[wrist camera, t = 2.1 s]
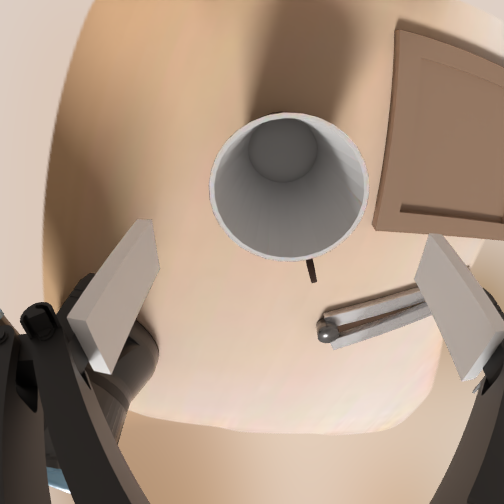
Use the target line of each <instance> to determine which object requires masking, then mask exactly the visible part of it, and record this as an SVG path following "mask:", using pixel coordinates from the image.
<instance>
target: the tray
mask: <svg viewBox="0 0 504 504" xmlns="http://www.w3.org/2000/svg"><path fill="white" fill-rule="evenodd" d="M372 226H373V227H374V229H375V231H388V232H404V233H418V234H429V233H434V234H442V235H445V236H457V237H469V238H481V239H492V240H503V241H504V67H502V66H500V65H498V64H495V63H493V62H491V61H489V60H487V59H484V58H482V57H480V56H477V55H475V54H473V53H470V52H468V51H465V50H463V49H460V48H457V47H455V46H452V45H449V44H446V43H444V42H441V41H438V40H435V39H432V38H428V37H425V36H422V35H419V34H415V33H412V32H408V31H404V30H401V29H400V30H396V31H395V37H394V62H393V78H392V91H391V103H390V113H389V122H388V130H387V138H386V146H385V153H384V160H383V166H382V173H381V179H380V185H379V190H378V196H377V201H376V207H375V212H374V217H373V222H372Z"/></svg>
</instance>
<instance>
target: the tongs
mask: <svg viewBox="0 0 504 504" xmlns="http://www.w3.org/2000/svg"><path fill="white" fill-rule="evenodd" d="M424 301H425V299H424V297H423V295H422V293H421V291H420V289H419V287H416V288H412V289H409V290H406V291H402V292H399V293H396V294H392V295H389V296H385V297H382V298H378V299H375V300H371V301H367V302H364V303H360V304H356V305H353V306H349V307H345V308H341V309H337V310H333V311H329V312H325V313H323V314H324V318H322V319H321V320H319V321H318V322H317V324H316V327H317V335H318V339H319V341H321V342H323V343H331V346H332V348H333V350H335V349H338V348H342V347H345V346H348V345H351V344H354V343H357V342H360V341H363V340H366V339H369V338H372V337H375V336H378V335H381V334H383V333H386V332H389V331H392V330H394V329H397V328H400V327H402V326H405V325H408V324H410V323H413V322H415V321H418V320H421V319H423V318H425V317H428V316H430V315H432V313H431V311H430V309H429V307H428V305H427V303H426V301H425V302H424ZM421 302H423V303H421ZM418 303H420V304H418ZM414 304H418V305H415V306H413V307H410V308H408V309H405V310H403V311H400V312H397V313H395V314H392V315H389V316H387V317H384V318H381V319H378V320H375V321H373V322H370V323H367V324H364V325H361V326H358V327H355V328H352V329H349V330H346V331H343V332H340V333H339V332H338V327H337V326H339V325H343V324H347V323H351V322H355V321H359V320H363V319H366V318H370V317H374V316H377V315H381V314H384V313H388V312H391V311H395V310H398V309H401V308H405V307H408V306H411V305H414Z"/></svg>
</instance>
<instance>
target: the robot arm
mask: <svg viewBox="0 0 504 504" xmlns="http://www.w3.org/2000/svg"><path fill="white" fill-rule="evenodd" d="M159 270H160V265H159V260H158V254H157V248H156V242H155V236H154V230H153V223H152V219H137V220H136V221H135V223H134V224H133V225H132V226H131V228H130V229H129V230H128V231H127V233H126V234H125V235H124V237H123V238H122V239H121V240H120V242H119V243H118V244H117V246H116V247H115V248H114V250H113V251H112V252H111V254H110V255H109V256H108V258H107V259H106V261H105V262H104V263H103V265H102V266H101V267H100V269H99V270H98V272H97V273H96V274H93V273H89V274H88V275H87V276H85V277H84V278H83V279H81V280H80V281H79V283H78V284H77V285H76V287H75V288H74V291H72V292H71V294H70V295H69V297H68V298H67V300H66V301H65V302H64V304H63V305H62V307H61V308H60V310H59V311H58V313H57V314H55V312H54V310H53V308H52V306H51V305H50V304H49V303H47V302H40V303H35V304H33V305H31V306H30V307H28V308H27V309H26V310H25V311H24V312H23V314H22V315H21V318H20V323H21V325H22V326H23V328H24V330H25V332H26V333H27V334H21V335H20V334H19V333H18V332H17V330H16V329H15V328H14V327H13V326H12V325H11V323H10V322H9V321H8V320H7V319H6V317H5V316H4V313H3V312H2V310H1V309H0V504H51V500H50V493H49V486H51V487H54V488H56V489H59V490H61V491H64V492H67V493H70V494H71V495H72V498H73V500H74V502H75V504H150V503H149V501H148V499H147V498H146V496H145V494H144V493H143V491H142V490H141V488H140V486H139V484H138V483H137V481H136V479H135V477H134V476H133V474H132V472H131V470H130V468H129V467H128V465H127V463H126V461H125V459H124V457H123V455H122V453H121V451H120V449H119V447H118V442H119V439H120V435H121V431H122V428H123V425H124V421H125V418H126V414H127V411H128V408H129V405H130V403H131V401H132V400H133V399H134V398H135V396H136V395H137V394H138V393H139V392H140V390H141V389H142V388H143V387H144V385H145V384H146V383H147V382H148V380H149V379H150V378H151V377H152V375H153V373H154V371H155V368H156V365H157V362H158V357H159V354H158V349H157V346H156V343H155V342H154V340H153V338H152V337H151V335H150V334H149V333H148V332H147V330H146V329H145V328H144V327H143V326H142V325H141V324H139V323H138V322H137V321H136V317H137V315H138V313H139V311H140V309H141V307H142V305H143V302H144V300H145V298H146V296H147V294H148V292H149V290H150V288H151V286H152V284H153V282H154V280H155V278H156V276H157V274H158V272H159ZM414 280H415V282H416V283H417V285H418V287H419V289H420V291H421V293H422V295H423V297H424V299H425V301H426V303H427V305H428V307H429V309H430V311H431V313H432V315H433V317H434V319H435V321H436V323H437V326H438V328H439V330H440V332H441V334H442V336H443V339H444V341H445V343H446V345H447V348H448V350H449V352H450V355H451V357H452V359H453V362H454V364H455V366H456V369H457V371H458V374H459V376H460V379H461V381H466V380H472V379H475V378H476V377H477V376H478V374H479V373H480V372H481V370H482V369H483V371H484V373H485V376H484V378H483V379H482V380H481V381H480V383H479V384H478V385H477V386H476V388H475V389H474V390H473V392H472V393H475V392H476V391H477V390H478V389H479V390H478V394H477V397H476V400H475V403H474V406H473V409H472V412H471V415H470V418H469V420H468V423H467V425H466V428H465V431H464V433H463V436H462V438H461V441H460V443H459V445H458V448H457V450H456V452H455V455H454V457H453V459H452V461H451V463H450V465H449V468H448V470H447V472H446V474H445V476H444V478H443V480H442V482H441V484H440V486H439V487H438V489H437V491H436V493H435V495H434V497H433V498H432V500H431V502H430V504H504V313H503V312H502V311H501V309H500V307H499V305H497V302H496V301H495V300H494V298H493V296H492V295H491V294H489V292H487V291H486V290H485V289H484V288H482V287H481V286H480V284H479V283H478V282H477V280H476V279H475V277H474V276H473V274H472V273H471V271H470V270H469V269H468V267H467V266H466V265H465V263H464V262H463V261H462V259H461V258H460V257H459V255H458V254H457V253H456V252H455V250H454V249H453V248H452V246H451V245H450V244H449V243H448V241H447V240H446V239H445V238H444V236H443V235H442V234H434V233H429V235H428V239H427V242H426V245H425V248H424V252H423V255H422V258H421V261H420V264H419V267H418V270H417V272H416V275H415V278H414Z"/></svg>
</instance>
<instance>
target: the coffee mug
mask: <svg viewBox="0 0 504 504" xmlns="http://www.w3.org/2000/svg"><path fill="white" fill-rule="evenodd" d="M209 195H210V202H211V206H212V209H213V213H214V215H215V217H216V219H217V221H218V223H219V225H220V227H221V228H222V229H223V230H224V232H225V233H226V234H227V235H228V237H229V238H230V239H232V240H233V241H234V242H235V243H236V244H237V245H239V246H240V247H241V248H243V249H245V250H247V251H248V252H250V253H252V254H254V255H257V256H260V257H262V258H265V259H270V260H275V261H285V262H295V261H302V260H306V263H307V268H308V272H309V275H310V279H311V282H312V283H315V282H317V279H316V274H315V268H314V263H313V259H312V258H315V257H318V256H321V255H323V254H325V253H327V252H329V251H331V250H333V249H334V248H336V247H337V246H338V245H340V244H341V243H342V242H344V241H345V240H346V239H347V238H348V237H349V236H350V234H351V233H352V232H353V231H354V230H355V229H356V227H357V225H358V224H359V222H360V220H361V219H362V217H363V214H364V212H365V209H366V206H367V202H368V196H369V175H368V172H367V168H366V164H365V161H364V159H363V157H362V155H361V153H360V151H359V149H358V147H357V146H356V145H355V144H354V143H353V141H352V140H351V139H350V138H349V137H348V135H347V134H345V133H344V132H343V131H342V130H340V129H339V128H338V127H336V126H335V125H334V124H332V123H330V122H328V121H325V120H323V119H321V118H319V117H316V116H312V115H308V114H304V113H293V112H276V113H271V114H268V115H266V116H263V117H261V118H258V119H256V120H253V121H251V122H250V123H248V124H246V125H245V126H243V127H242V128H240V129H239V130H237V131H236V132H235V133H234V134H233V135H232V136H231V137H230V138H229V139H228V140H227V141H226V142H225V144H224V145H223V147H222V148H221V150H220V151H219V153H218V154H217V156H216V159H215V161H214V164H213V166H212V169H211V174H210V181H209Z"/></svg>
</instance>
